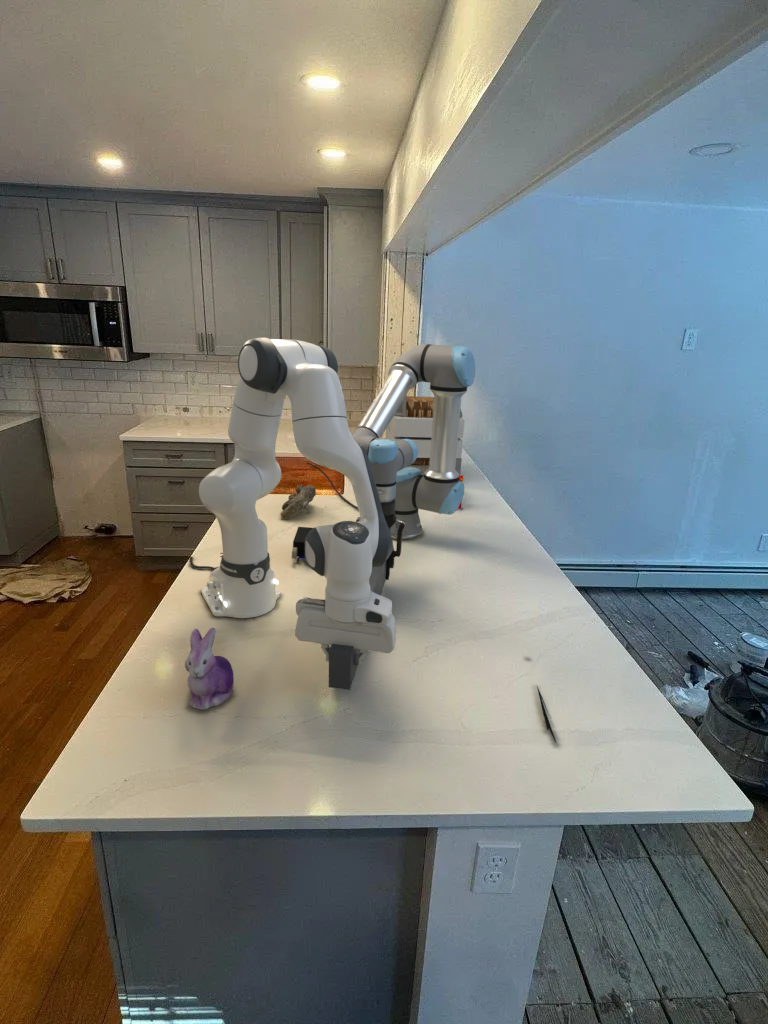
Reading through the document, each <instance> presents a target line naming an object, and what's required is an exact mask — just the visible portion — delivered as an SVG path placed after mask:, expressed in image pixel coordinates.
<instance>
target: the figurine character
mask: <svg viewBox="0 0 768 1024" xmlns="http://www.w3.org/2000/svg"><path fill="white" fill-rule="evenodd" d="M313 528H314V527H308V526H297V530H296V532H295V535H294V538H293V541H292V551H291V559H294V560H296V563H297V564H299V563H300V560H305V556H304V541H305V538H306V536H307V535H308V533H309V532H310V531H311V529H313Z"/></svg>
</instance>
